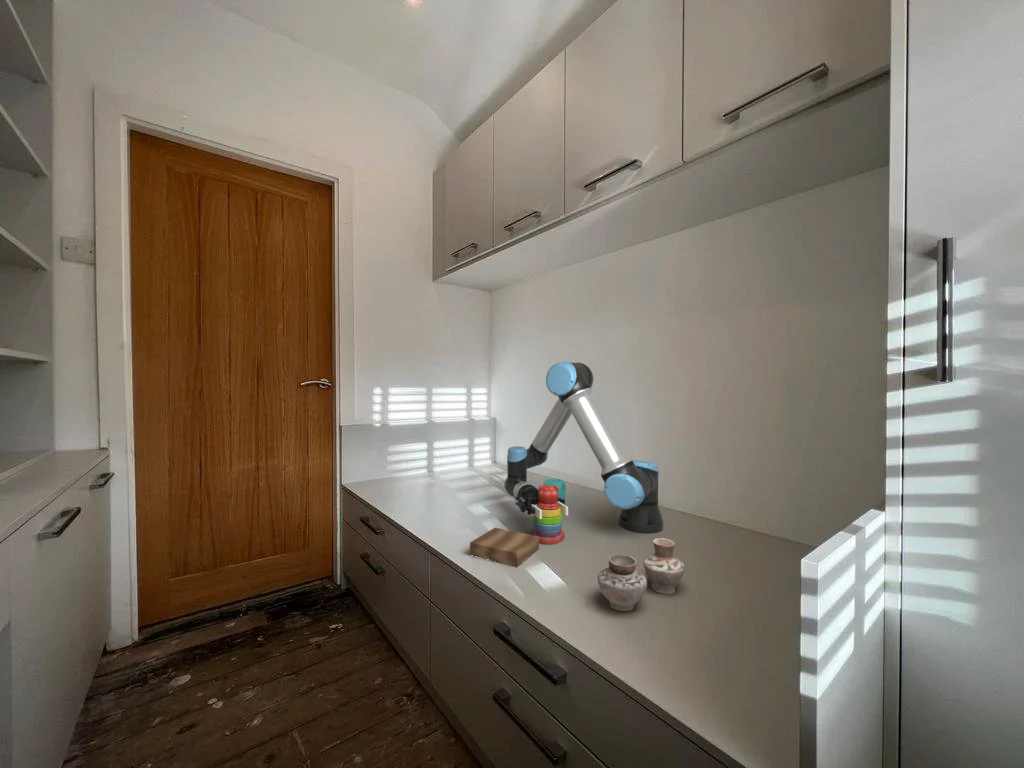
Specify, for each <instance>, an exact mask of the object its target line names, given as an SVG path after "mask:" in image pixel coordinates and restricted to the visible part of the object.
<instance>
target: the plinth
mask: <svg viewBox="0 0 1024 768" xmlns="http://www.w3.org/2000/svg"><path fill="white" fill-rule="evenodd" d="M539 550H540V543H539V536H534V535H532V534H528V533H522V532H519V531H514V530H510V529H509V530H508V529H505V528H498V527H493V528H491V529H490V530H489V531H487V532H485V533H483V534H482V535H480V536H478V537H476V538H475V539H473V540H471V541H470V542H469V555H473V556H477V557H481V558H485V559H489V560H492V561H491V562H493V561H496V562H495V563H497V562H499V563H498V564H501V563H503V564H502V565H505V564H506V566H509V565H510V567H513V566H514V568H518V566H519V567H520V566H521V565H522V564H524V563H525V562H526V561H527V560H528V559H529V558H531V557H532V556H533V555H534V554H535V553H536V552H538V551H539ZM473 556H472V557H473ZM477 557H476V558H477ZM481 558H480V559H481ZM485 559H484V560H485ZM489 560H488V561H489Z"/></svg>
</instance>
